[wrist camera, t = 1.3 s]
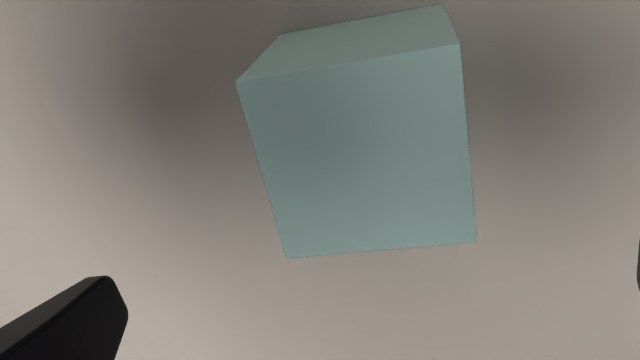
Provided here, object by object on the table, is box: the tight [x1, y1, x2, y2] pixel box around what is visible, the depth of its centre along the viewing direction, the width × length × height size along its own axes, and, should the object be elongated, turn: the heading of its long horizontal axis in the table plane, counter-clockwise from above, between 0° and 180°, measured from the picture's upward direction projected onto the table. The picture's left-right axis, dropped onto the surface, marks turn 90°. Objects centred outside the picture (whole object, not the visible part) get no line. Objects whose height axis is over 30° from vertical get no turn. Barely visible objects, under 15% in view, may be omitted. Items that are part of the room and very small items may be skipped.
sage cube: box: [235, 3, 477, 258], centre depth 14 cm, size 5×5×5 cm
